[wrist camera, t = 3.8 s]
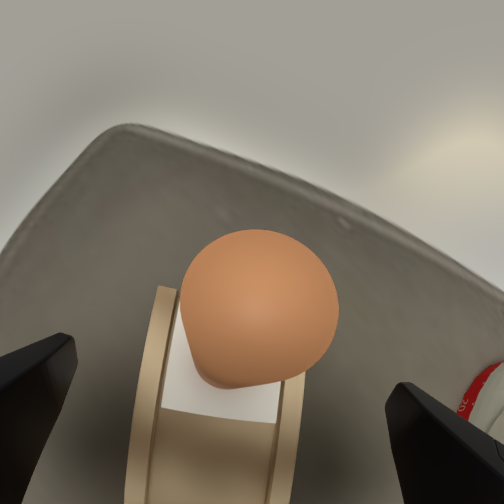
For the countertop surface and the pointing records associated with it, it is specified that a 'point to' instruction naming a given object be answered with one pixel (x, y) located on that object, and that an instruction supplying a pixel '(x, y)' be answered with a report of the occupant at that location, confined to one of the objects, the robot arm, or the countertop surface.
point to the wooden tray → (205, 438)
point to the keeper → (248, 325)
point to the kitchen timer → (486, 402)
